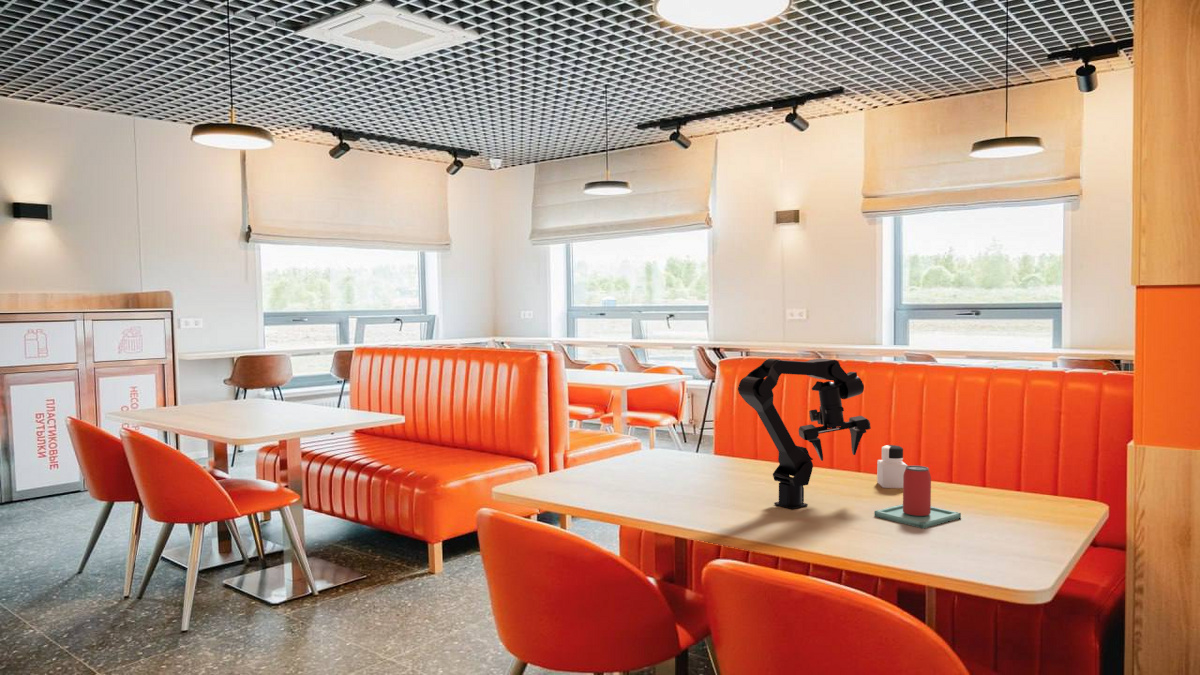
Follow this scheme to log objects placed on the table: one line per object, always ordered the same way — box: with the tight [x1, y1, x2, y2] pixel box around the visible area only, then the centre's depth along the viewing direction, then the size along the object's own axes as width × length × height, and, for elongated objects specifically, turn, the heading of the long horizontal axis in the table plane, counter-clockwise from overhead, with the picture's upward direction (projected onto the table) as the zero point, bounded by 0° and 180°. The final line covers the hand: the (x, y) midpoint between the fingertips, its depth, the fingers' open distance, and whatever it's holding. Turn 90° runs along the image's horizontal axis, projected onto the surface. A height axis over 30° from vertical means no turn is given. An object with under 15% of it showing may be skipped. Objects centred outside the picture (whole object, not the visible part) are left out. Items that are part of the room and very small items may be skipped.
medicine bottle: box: [876, 444, 908, 489], centre depth 245 cm, size 7×7×12 cm
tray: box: [873, 503, 962, 529], centre depth 209 cm, size 16×14×1 cm
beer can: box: [902, 465, 932, 517], centre depth 208 cm, size 7×7×12 cm
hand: (837, 457), depth 228 cm, fingers open, 9 cm apart
